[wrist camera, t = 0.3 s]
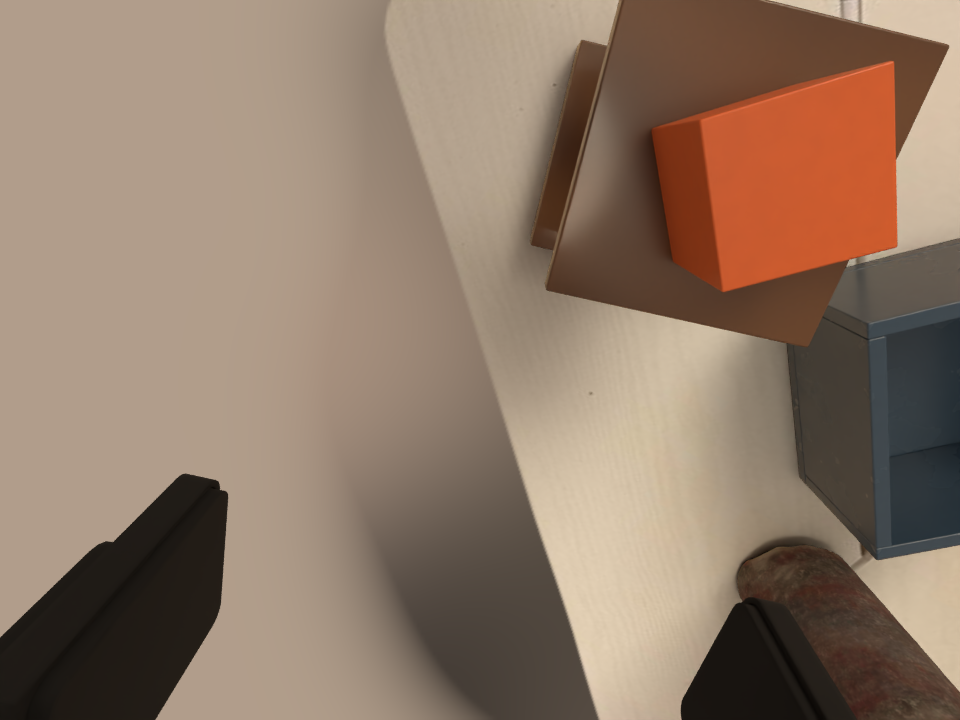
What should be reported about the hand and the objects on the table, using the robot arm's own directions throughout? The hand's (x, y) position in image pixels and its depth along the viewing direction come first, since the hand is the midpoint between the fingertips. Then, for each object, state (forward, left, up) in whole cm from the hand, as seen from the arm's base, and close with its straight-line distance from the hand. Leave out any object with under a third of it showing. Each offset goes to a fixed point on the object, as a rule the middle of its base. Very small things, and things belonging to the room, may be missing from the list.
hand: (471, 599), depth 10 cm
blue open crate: (-1, +25, -23) cm, 35 cm away
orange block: (-8, +6, -11) cm, 16 cm away
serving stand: (-8, +6, -24) cm, 26 cm away
